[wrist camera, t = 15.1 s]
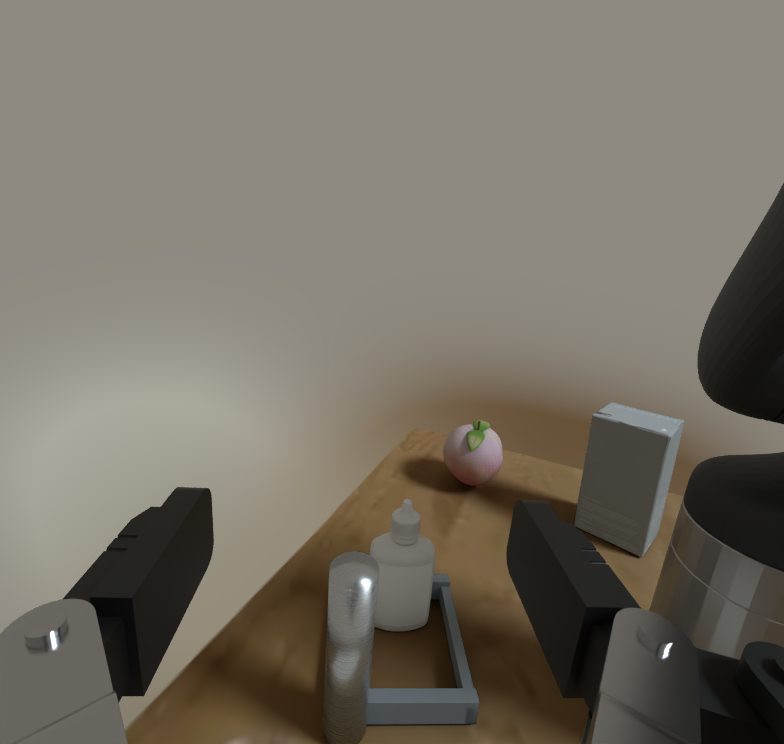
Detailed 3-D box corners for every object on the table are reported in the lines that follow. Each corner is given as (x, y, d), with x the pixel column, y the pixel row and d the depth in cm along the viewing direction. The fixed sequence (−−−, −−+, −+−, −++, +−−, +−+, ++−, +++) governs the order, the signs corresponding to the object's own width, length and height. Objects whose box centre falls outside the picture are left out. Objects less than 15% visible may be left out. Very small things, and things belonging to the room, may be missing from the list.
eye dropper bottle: (415, 649, 36) (429, 527, 32) (357, 621, 38) (365, 503, 34) (433, 612, 39) (448, 499, 36) (380, 588, 42) (389, 479, 38)
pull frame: (445, 591, 41) (461, 472, 38) (481, 747, 29) (510, 590, 25) (335, 589, 41) (341, 468, 37) (320, 749, 28) (327, 587, 24)
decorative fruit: (443, 464, 67) (450, 405, 64) (496, 473, 65) (506, 413, 62) (435, 496, 58) (443, 428, 55) (497, 507, 56) (508, 439, 54)
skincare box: (656, 537, 53) (691, 420, 48) (639, 563, 48) (676, 435, 44) (588, 506, 59) (614, 398, 54) (566, 526, 54) (592, 409, 49)
